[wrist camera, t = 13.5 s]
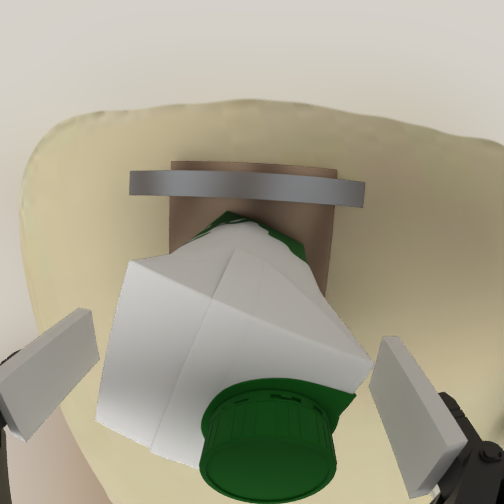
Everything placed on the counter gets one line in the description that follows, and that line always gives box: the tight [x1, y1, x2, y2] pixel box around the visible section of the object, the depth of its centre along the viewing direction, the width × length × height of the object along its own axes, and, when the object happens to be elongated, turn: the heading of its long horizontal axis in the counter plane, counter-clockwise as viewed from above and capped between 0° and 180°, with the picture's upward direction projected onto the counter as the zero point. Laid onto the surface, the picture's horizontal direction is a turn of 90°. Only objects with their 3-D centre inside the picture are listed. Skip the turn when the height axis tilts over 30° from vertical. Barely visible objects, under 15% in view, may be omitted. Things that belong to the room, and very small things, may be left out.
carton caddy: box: [129, 161, 365, 298], centre depth 23 cm, size 14×17×9 cm
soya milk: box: [95, 211, 374, 504], centre depth 16 cm, size 9×9×20 cm
